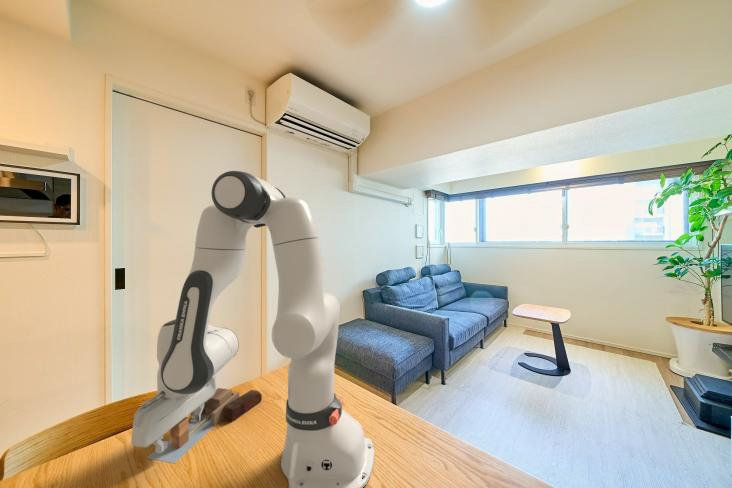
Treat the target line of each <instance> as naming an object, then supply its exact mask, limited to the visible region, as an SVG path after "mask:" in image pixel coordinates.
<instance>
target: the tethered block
mask: <svg viewBox="0 0 732 488" xmlns="http://www.w3.org/2000/svg"><path fill="white" fill-rule="evenodd" d="M232 391H233V389H230V388H220V387H216V392H215V394H214V396H213V397H211V398H210V399H209V400H207V401H206V402H205V414H206V415H208V416H207V417H206V418H205V419H204V420H202V421H201V422H200V423H199V424H198V425H197V426H195V427H194V428H193V429H192V430H191V431H189V423H190V422H189V417H188V416H187V417H185V418H184V419H183V420H182V421H180V422H179V423H178V424H176V425H175V426H174V427H172V428H171V429H170V438H171V447H174V448H179V449H180V448H181V447H182V446H183V445H184V444H185V443H186V442H187V441H189V436H191V435H192V434H193V433H194V432H195V431H196V430H197V429H199V428H200V427H201V426H202V425H203V424H204V423H205V422H207V421H208V420H209V419H210V418H211V417H212V412H213V411H215V410H216V409H217V408H218V407H219V406H221V405H222V404H223V403H224V402H225V401H226V400H228V399H229V398H230V397H231V396H232Z"/></svg>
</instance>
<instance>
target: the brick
mask: <svg viewBox="0 0 732 488" xmlns="http://www.w3.org/2000/svg"><path fill="white" fill-rule="evenodd" d="M262 397H263V395H262V393H261V392H260V391H258V390H254V389H250V390H248V391H247V392H246V393H244V394H242V395H239V398H237V399H235V400H234V401H232V402H230V403H229V404H227V405H226V406H224V409H223V419H222V420H225V421H227V422H230V423H233V422H235V421H236V420H238V419H239V418H240V417H242V416H244V415H245V414H246V413H248V412H249V411H250V410H252V409H253V408H254V407H256V406H257V405H259V404H260V403H261V402H262Z"/></svg>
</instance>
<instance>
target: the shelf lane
mask: <svg viewBox="0 0 732 488" xmlns="http://www.w3.org/2000/svg"><path fill="white" fill-rule="evenodd" d="M239 397H240V392H239V391H234V390H232V396H231V397H230V398H229V399H228V400H226V401H225V402H224V403H223V404H222V405H221V406H219V407H218V408H217V409H216V410H215V411H213V412H212V417H211V418H210V419H209V420H208V421H207V422H205V423H204V424H203V425H202V426H201V427H200V428H199V429H197V430H196V431H195V432H194V433H193V434H192V435H191V436H189V441H187V442H186V443H185V444H184V445H183V446H182V447H181V448H180V449H179V448H174V447H171V437H170V438H169V439H167V441H168V444H167V446H168V447H167V449H165V450H164V451H163V452H162V453H156V451H155V450H154V451H153V452H152V453H151V454H149V455H148V456H147V457H146V459H149V460H153V461H155V460H156V461H160V462H164V463H165V462H166V463H170V464H176V463H177V462H178V461H179V460H180V459H181V458H182V457H184V455H185V454H186V453H188V452H189V451H190V450H191V449H192V448H193V447H194V446H196V444H198V443H199V441H201V439H203V438H204V436H206V435H207V434H208V433H209V432H210V431H211V430H212V429H213V428H215V426H217V425H218V424H219V423H220V422H221V421H222V420H224V419H223V409H224V406H226V405H227V404H229V403H230V402H232V401H234V400H235V399H237V398H239ZM194 411H195V410H194ZM194 411H193V412H192V413H191V414H190V417H191V416H193V414H194ZM207 416H208V415H206V414H205V403H204V408H203V411H202V413H201V420H200V421H199V422H197V423H196V424H192V423H191V421H190V422H189V431H191V430H192V429H193V428H194V427H195V426H197V425H198V424H199V423H200V422H201V421H202V420H204V419H205V418H206V417H207Z"/></svg>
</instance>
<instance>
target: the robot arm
mask: <svg viewBox="0 0 732 488" xmlns="http://www.w3.org/2000/svg"><path fill="white" fill-rule="evenodd" d="M211 199H212V202H213V204H212V205H208V206H207V207H205V208H203V210H202V212H201V215H200V219H199V221H198V226H197V229H196V236H195V243H194V244H195V245H194V255H193V259H192V263H191V267H190V271H189V273H188V275H187V276H186V279H185V281H184V283H183V286H182V289H181V292H180V297H179V301H178V306H177V311H176V317H175V319H172V320H170V321H167V322H166V323H164V324H163V325H162V326H161V328H160V329H159V331H158V335H157V343H156V358H157V361H158V370H157V373H156V395H154V396H153V397H151V398H150V399H148V400H146V401H144V402H142V403H141V405H140V407H138V409H137V410H136V412H135V413H134V415H133V423H132V431H131V438H130V439H131V440H130V441H131V442H130V443H131V445H132V446H135V447H138V448H147V447H149V446H150V445H154V449H155V450H154V451H156V453H162V452H163V451H164V450H165V449H167V447H168V446H167V444H168V440H163V439H164V435H165V434H167V432H168V431H169V432H170V431H171V428H172V427H174V426H175V425H176V424H178V423H179V422H180V421H182V420H183V419H184V418H185V417H188V416H189V415H190V422H191V423H192V424H196V423H197V422H199V421H200V420H201V413H202V411H203V408H204V403H205V402H206V401H207V400H209V399H210V398H211V397H213V396H214V394H215V392H216V389H217V376H216V374H217V373H219V371H220V370H222V369H223V368H224V367H225V366H226V365H227V364H228V363H229V362H230V361H231V360H232V359H233V358H234V357H235V356H236V355H237V353H238V351H239V346H240V344H239V339H238V337H237V336H238V335H236V334H235V332H234V331H233V330H231V329H229V328H227V327H217V326H214V325H211V324H209V323H210V319H211V313H212V309H213V306H214V304H215V301H216V300H217V298H218V297H219V296H220V295H221V294H222V292H223V291H224V290H225V289H226V288H227V287H228V286H229V285H230V284H232V282H234V281H235V280H236V279H237V278H239V276H240V275H241V274H242V270H243V268H244V264H245V257H246V244H247V243H246V242H247V236H248V235H247V234H248V232H249V230H250V229H251V228H252V227H254V228H257V229H258V228H261V227H265V226H266V227H267V228H268V231H269V234H270V239H271V243H272V248H273V254H274V260H275V266H276V269H277V276H278V277H277V278H278V279H277V280H278V292H277V293H278V295H277V297H278V299H277V310H276V311H277V312H276V317H275V319H274V320H275V321H274V323H273V325H272V328H271V341H272V344H273V346H274V348H275V349H276V351H277V352H278V353H279V354H280V355H282V356H283V357H285V358H287V359H291V360H290V363H289V366H288V370H287V399H286V403H285V404H286V405H285V407H286V408H285V421H286V435H285V442H284V446H283V451H282V454H281V458H280V468H281V471H282V473H283V474H284V476H285V477H286V480H287V481H288V488H363V487H364V486H365V485H366V486H367V484H368V483H369V481H370V479H371V476H372V473H373V469H374V462H375V447H374V444H373V442H372V440H371V438H370V437H367V436H365V431H364V429H363V427H362V425H361V423H360V422H359V421H358V420H356V419H355V418H353V417H352V416H351V415H350V414H348V412H346V411H345V410H344V409H343V407H342V405H343V403H344V396H343V395H342V396H340V397H341V398H340V399H338V397H337V395H336V393H335V362H336V354H337V353H336V352H337V346H338V337H339V324H340V323H339V322H340V316H341V304H340V302H339V299H338V298H337V297H336V296H335V295H334V294H332V293H330V292H327V291H324V275H325V264H324V259H323V254H322V250H321V243H320V239H319V235H318V233H319V232H318V231H317V227H316V223H315V219H314V217H313V214H312V212H311V209H310V207H309V204H308V203H307V202H306V201H304V200H303V199H301V198H298V197H292V196H289V197H286V196H285V194H284V193H283V191H281V189H279V188H277V187H276V186H273V185H272V184H270V183H269V182H268V181H266V180H264V179H262V178H260V177H258V176H254V175H252V174H250V173H248V172H246V171H242V170H241V171H239V170H231V171H230V170H229V171H225V172H224V173H221V174H220V175H219V176H217V178H216V179H215V180H214V182H213V184H212V186H211ZM194 410H195V411H194ZM193 411H194V414H193V416H191V413H192V412H193ZM371 472H372V473H371ZM370 475H371V476H370ZM362 478H363V479H362ZM369 478H370V479H369ZM368 480H369V481H368ZM367 482H368V483H367ZM366 486H365V487H366ZM365 487H364V488H365Z"/></svg>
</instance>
